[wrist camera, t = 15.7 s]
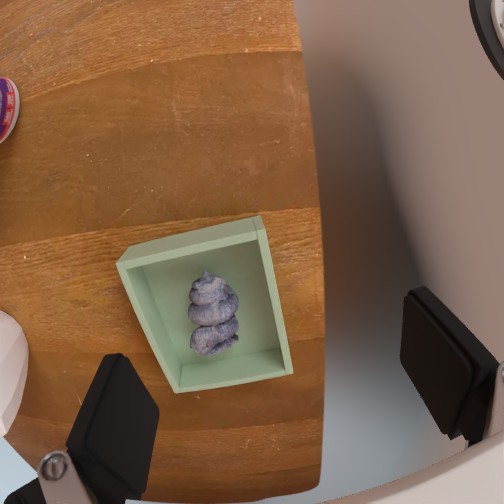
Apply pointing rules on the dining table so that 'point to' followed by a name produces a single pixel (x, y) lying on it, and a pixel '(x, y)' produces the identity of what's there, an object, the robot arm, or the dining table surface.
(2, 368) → the vase
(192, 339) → the seashell
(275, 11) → the dining table surface
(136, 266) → the box
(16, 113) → the pill bottle
